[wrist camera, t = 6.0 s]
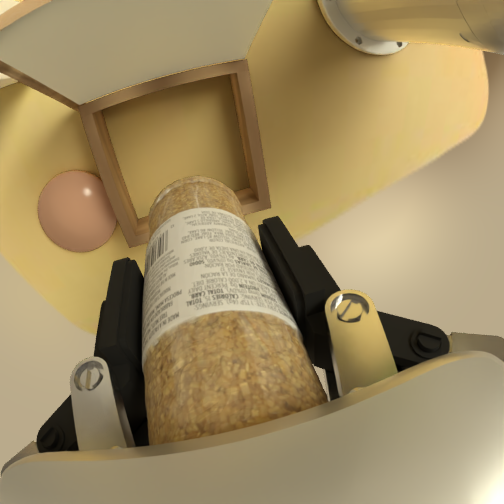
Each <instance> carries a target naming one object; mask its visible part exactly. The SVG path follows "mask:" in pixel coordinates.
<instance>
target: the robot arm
mask: <svg viewBox="0 0 504 504" xmlns="http://www.w3.org/2000/svg"><path fill="white" fill-rule="evenodd" d="M317 1H318V4H319V7H320V10H321V13H322V15H323V16H324V18H325V20H326V22H327V23H328V25H329V26H330V28H331V29H332V30H333V31H334V32H335V33H336V34H337V35H338V37H339V38H340V39H342V40H343V41H344V42H346V43H347V44H348V45H350V46H351V47H353V48H355V49H357V50H359V51H362V52H365V53H368V54H375V55H388V54H394V53H396V52H398V51H400V50H402V49H403V48H404V47H406V46H407V45H408V43H409V42H414V43H429V44H440V45H449V46H457V47H464V48H471V49H477V50H483V51H488V52H494V53H499V54H503V55H504V0H317ZM355 40H356V41H355ZM258 229H259V235H260V241H261V247H262V252H263V254H264V256H265V258H266V260H267V262H268V264H269V266H270V268H271V271H272V273H273V275H274V277H275V279H276V281H277V283H278V285H279V287H280V290H281V292H282V294H283V296H284V298H285V300H286V302H287V304H288V306H289V308H290V311H291V313H292V315H293V317H294V319H295V321H296V323H297V325H298V328H299V330H300V332H301V334H302V336H303V344H304V346H305V348H306V350H307V352H308V356H309V358H310V360H311V362H312V364H314V366H317V367H319V368H322V369H323V372H324V378H325V385H326V390H327V396H328V401H329V402H327V403H324V404H321V405H318V406H316V407H313V408H310V409H307V410H304V411H301V412H298V413H295V414H292V415H288V416H285V417H282V418H279V419H275V420H272V421H268V422H265V423H261V424H257V425H254V426H250V427H246V428H242V429H238V430H234V431H229V432H225V433H221V434H216V435H211V436H206V437H201V438H196V439H190V440H185V441H179V442H172V443H165V444H158V445H151V446H149V437H148V419H147V410H146V404H145V378H144V373H143V370H142V304H143V288H144V277H143V275H142V273H141V271H140V269H139V267H138V265H137V263H136V261H135V260H130V258H128V257H127V258H124V259H120V260H117V261H114V262H113V266H112V271H111V276H110V281H109V286H108V291H107V297H106V300H105V301H103V302H102V305H101V311H100V317H99V323H98V329H97V336H96V343H95V351H94V357H89V358H86V359H84V360H82V361H81V362H80V363H79V364H78V365H76V367H75V368H74V370H73V371H72V374H71V377H70V388H71V395H70V396H69V397H68V398H67V399H66V400H65V401H64V402H63V403H62V405H61V406H60V407H59V408H58V409H57V410H56V411H55V412H54V413H53V415H52V416H51V417H50V418H49V419H48V420H47V421H46V422H45V423H44V425H43V426H42V427H41V428H40V430H39V432H38V435H37V442H34V441H32V442H31V443H30V444H28V445H27V446H26V447H25V448H24V449H22V450H21V451H20V452H19V453H18V454H16V455H15V456H14V457H13V458H12V459H11V460H9V461H8V462H7V463H6V464H5V465H4V466H3V468H2V471H1V478H0V504H504V339H503V338H502V337H498V336H491V335H478V334H466V333H456V332H452V333H451V334H450V335H446V334H445V333H444V332H443V331H442V330H441V329H439V328H438V327H436V326H433V325H430V324H426V323H422V322H418V321H414V320H410V319H406V318H402V317H399V316H394V315H390V314H386V313H383V312H379V311H376V308H375V305H374V303H373V301H372V300H371V298H370V297H369V296H367V295H366V294H365V293H363V292H360V291H357V290H342V291H341V290H340V288H339V287H338V285H337V284H336V282H335V281H334V280H333V278H332V277H331V275H330V274H329V272H328V271H327V269H326V268H325V267H324V265H323V263H322V262H321V260H320V259H319V258H318V256H317V255H316V253H315V252H314V250H313V249H312V248H311V246H309V245H306V246H303V247H298V245H297V244H296V242H295V241H294V239H293V238H292V236H291V235H290V233H289V231H288V230H287V228H286V227H285V225H284V224H283V222H282V221H281V219H280V218H279V217H278V216H276V217H272V218H268V219H264V220H263V224H261V225H258Z"/></svg>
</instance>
